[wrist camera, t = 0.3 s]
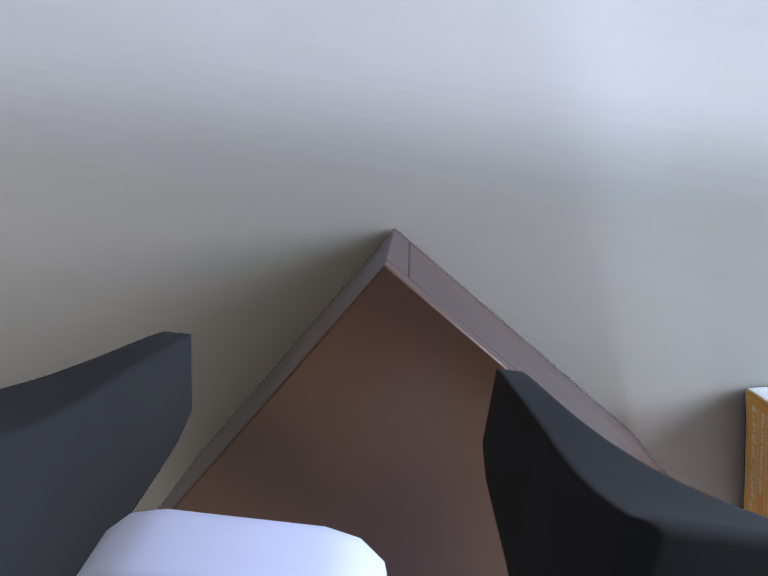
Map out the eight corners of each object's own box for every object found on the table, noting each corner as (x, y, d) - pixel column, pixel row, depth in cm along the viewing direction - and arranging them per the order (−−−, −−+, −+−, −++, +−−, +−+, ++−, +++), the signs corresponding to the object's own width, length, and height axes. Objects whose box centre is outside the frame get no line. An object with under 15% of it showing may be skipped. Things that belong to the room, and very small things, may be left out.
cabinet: (418, 639, 27) (421, 856, 19) (191, 463, 26) (82, 611, 17) (634, 434, 25) (754, 578, 16) (395, 227, 23) (385, 263, 15)
